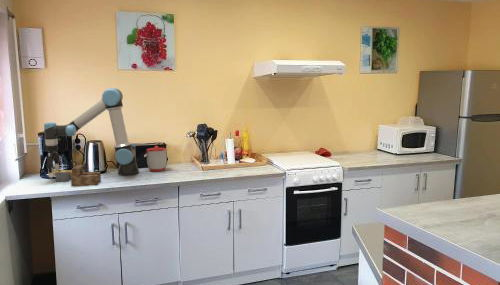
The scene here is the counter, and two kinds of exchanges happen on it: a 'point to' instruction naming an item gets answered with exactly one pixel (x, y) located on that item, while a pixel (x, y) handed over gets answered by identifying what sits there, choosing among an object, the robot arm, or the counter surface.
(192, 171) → the counter surface
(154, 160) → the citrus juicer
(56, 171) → the axle
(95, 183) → the brown wooden l-shaped block
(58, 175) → the v block
